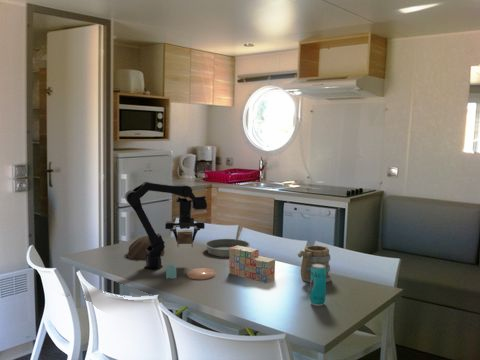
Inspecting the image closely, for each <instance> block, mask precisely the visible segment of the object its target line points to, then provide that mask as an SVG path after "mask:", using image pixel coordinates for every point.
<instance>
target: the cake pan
mask: <svg viewBox="0 0 480 360" xmlns="http://www.w3.org/2000/svg"><path fill="white" fill-rule="evenodd" d="M237 245H238V246H243V247H249V248H250V247H251V246H250V245H251V244H250V242H248V241H246V240H242V239H238V238H237V239H236V238H217V239H216V238H215V239H211V240H208V241H206V242H205V243H204V246H205V247H206V249H207V253H208V254H210V255H211V256H217V257H224V256H225V257H228V258H229V248H231V247H234V246H237Z"/></svg>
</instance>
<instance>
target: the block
mask: <svg viewBox="0 0 480 360" xmlns="http://www.w3.org/2000/svg"><path fill="white" fill-rule="evenodd" d="M168 278H170V279H177V264H166V266H165V279H166V280H167V279H168Z"/></svg>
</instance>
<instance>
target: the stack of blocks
mask: <svg viewBox="0 0 480 360" xmlns="http://www.w3.org/2000/svg"><path fill="white" fill-rule="evenodd" d="M228 258H229V259H228V260H229V262H228V263H229V264H228V265H229V273H228V274H232V275H235V276H239V277H242V278H247V279H251V280H255V281H259V282H264V283H269V282H271V281H274V280H275V278H276V277H275V276H276V275H275V274H276V273H275V272H276V268H275V267H276V259H275V258H271V257H270V258H269V257H266V256H262V255H261V256H260V255H259V249H258V248H253V247H250V246H249V247H243V246H238V245H237V246H234V247H230V248H229V257H228Z"/></svg>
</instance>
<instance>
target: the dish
mask: <svg viewBox="0 0 480 360" xmlns="http://www.w3.org/2000/svg"><path fill="white" fill-rule="evenodd" d="M216 275H217V274H216V271H215V270H214V269H212V268H206V267H198V268H193V269H189V270H187V271H186V277H187V278H189V279H191V280H192V279H193V280H199V281H202V280H209V279H213V278H214V277H216Z"/></svg>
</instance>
